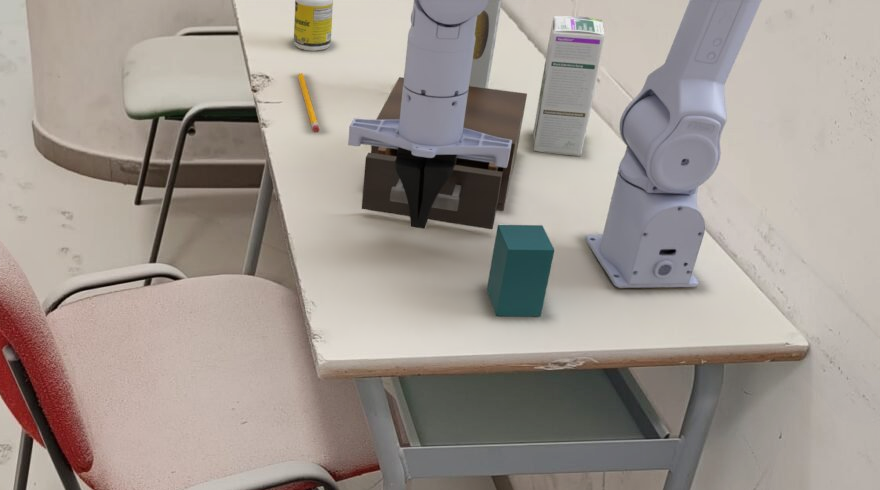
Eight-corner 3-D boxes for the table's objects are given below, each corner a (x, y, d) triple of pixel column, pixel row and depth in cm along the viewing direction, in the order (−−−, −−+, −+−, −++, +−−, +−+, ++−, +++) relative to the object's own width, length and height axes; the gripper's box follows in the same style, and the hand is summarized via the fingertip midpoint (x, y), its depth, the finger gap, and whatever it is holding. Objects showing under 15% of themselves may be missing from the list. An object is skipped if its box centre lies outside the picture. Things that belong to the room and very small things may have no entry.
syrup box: (582, 157, 118) (608, 34, 109) (530, 151, 119) (553, 28, 110) (580, 137, 122) (605, 18, 114) (530, 132, 123) (552, 13, 115)
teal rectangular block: (540, 316, 90) (554, 249, 86) (496, 316, 89) (508, 249, 86) (529, 290, 93) (542, 225, 89) (486, 289, 93) (497, 224, 89)
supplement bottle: (287, 41, 148) (289, -27, 143) (320, 37, 150) (323, -31, 145) (303, 53, 144) (306, -17, 139) (337, 49, 146) (341, -20, 141)
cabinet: (503, 211, 106) (515, 144, 102) (367, 190, 109) (373, 124, 105) (516, 155, 118) (527, 93, 113) (393, 138, 121) (399, 76, 116)
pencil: (312, 132, 122) (313, 127, 121) (297, 78, 136) (297, 73, 136) (319, 132, 122) (319, 127, 121) (303, 78, 137) (303, 73, 136)
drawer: (487, 250, 97) (496, 195, 94) (352, 228, 100) (356, 174, 97) (506, 173, 111) (514, 124, 108) (386, 156, 114) (391, 107, 111)
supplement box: (407, 108, 128) (422, -28, 119) (417, 83, 136) (431, -47, 126) (483, 117, 127) (504, -20, 117) (488, 91, 134) (508, -40, 124)
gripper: (344, 90, 87) (335, 230, 94) (515, 113, 84) (491, 255, 91) (362, 64, 92) (352, 197, 100) (522, 84, 89) (499, 220, 97)
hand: (419, 223), depth 96 cm, fingers closed, pressing on drawer
